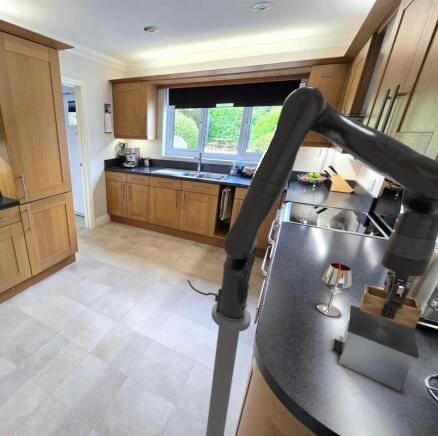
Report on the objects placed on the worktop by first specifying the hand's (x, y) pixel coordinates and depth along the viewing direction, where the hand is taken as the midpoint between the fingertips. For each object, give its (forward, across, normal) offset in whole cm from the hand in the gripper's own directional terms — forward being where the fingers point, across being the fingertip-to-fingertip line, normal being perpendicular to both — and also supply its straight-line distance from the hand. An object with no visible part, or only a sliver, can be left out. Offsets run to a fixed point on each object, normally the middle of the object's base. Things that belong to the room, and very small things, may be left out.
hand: (386, 310), depth 62 cm
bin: (+17, 0, 0) cm, 17 cm away
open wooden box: (+1, 0, 0) cm, 1 cm away
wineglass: (+17, -19, -11) cm, 28 cm away
